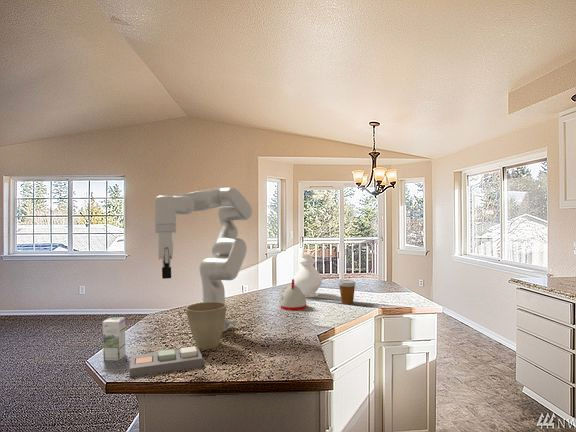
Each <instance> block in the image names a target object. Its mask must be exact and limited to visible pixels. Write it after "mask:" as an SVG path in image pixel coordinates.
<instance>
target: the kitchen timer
mask: <svg viewBox="0 0 576 432" xmlns="http://www.w3.org/2000/svg"><path fill="white" fill-rule="evenodd" d="M306 299H307V297H305V294H303V293H302V291H301V290H300V289H299V288H298V287H297V286H295V285H294V278H293V279H291V285H290V286H288V287H287V288H286V289H285V290H284V292H283V293H282V294H281V297H280V309H281V310H285V311H301V310H304V309H307V300H306Z"/></svg>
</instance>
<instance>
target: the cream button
mask: <svg viewBox="0 0 576 432" xmlns="http://www.w3.org/2000/svg"><path fill="white" fill-rule="evenodd" d="M196 347H197V346H187V347H180V348H179V349H180V356H181V358H185V357H192V356H197V350H196Z"/></svg>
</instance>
